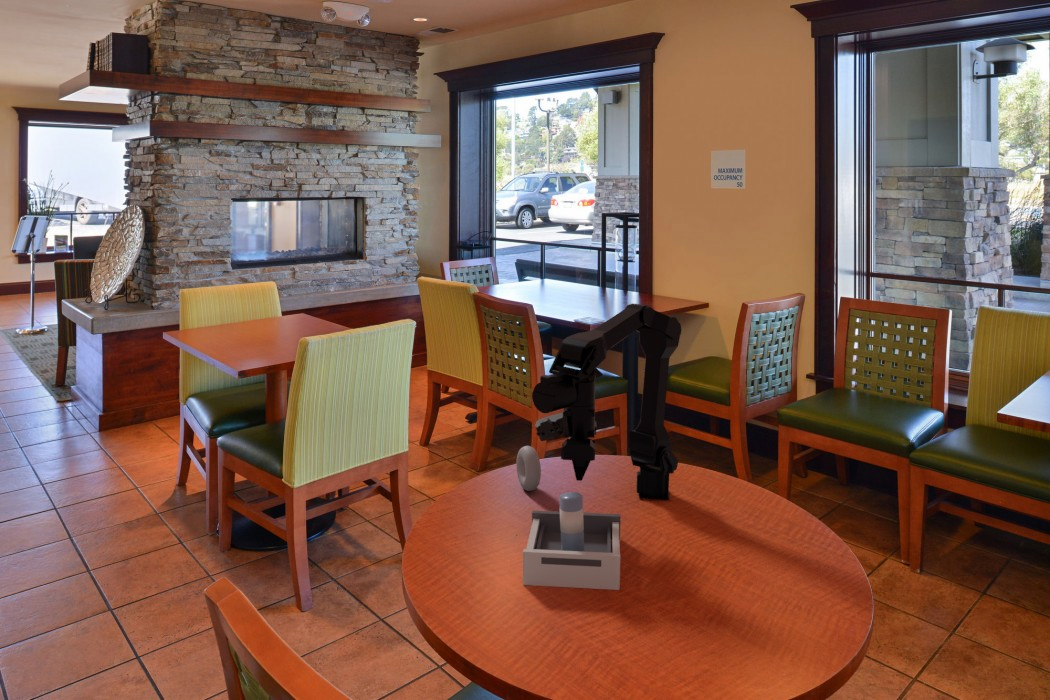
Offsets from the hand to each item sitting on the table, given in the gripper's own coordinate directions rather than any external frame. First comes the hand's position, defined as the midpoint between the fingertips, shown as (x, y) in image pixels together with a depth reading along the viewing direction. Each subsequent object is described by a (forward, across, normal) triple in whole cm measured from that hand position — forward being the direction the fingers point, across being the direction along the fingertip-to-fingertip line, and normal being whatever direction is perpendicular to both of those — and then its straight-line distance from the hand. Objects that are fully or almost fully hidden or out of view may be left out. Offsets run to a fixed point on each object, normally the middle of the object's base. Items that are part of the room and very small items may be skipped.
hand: (579, 479), depth 154 cm
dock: (+10, +14, 0) cm, 17 cm away
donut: (+10, -19, -12) cm, 25 cm away
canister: (+8, +17, 0) cm, 19 cm away
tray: (+10, +14, 0) cm, 17 cm away
